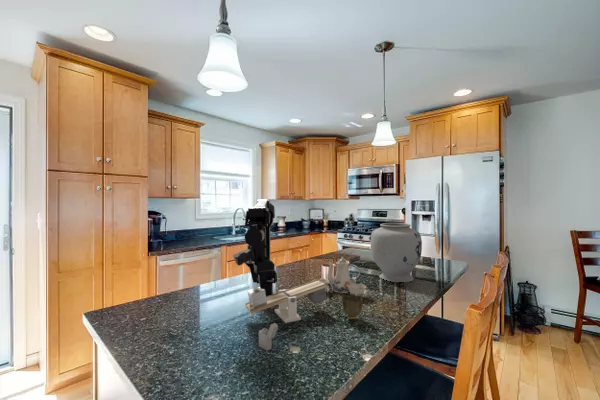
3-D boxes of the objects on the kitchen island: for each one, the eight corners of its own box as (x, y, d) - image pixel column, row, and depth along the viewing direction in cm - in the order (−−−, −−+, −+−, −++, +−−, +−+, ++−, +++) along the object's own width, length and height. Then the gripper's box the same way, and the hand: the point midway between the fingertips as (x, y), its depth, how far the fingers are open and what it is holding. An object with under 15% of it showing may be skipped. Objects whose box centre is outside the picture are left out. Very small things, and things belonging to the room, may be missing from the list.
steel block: (249, 304, 103) (247, 290, 103) (263, 299, 105) (260, 286, 105) (253, 308, 99) (251, 294, 98) (267, 303, 101) (264, 290, 101)
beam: (248, 320, 104) (245, 303, 104) (319, 294, 116) (317, 279, 116) (253, 328, 98) (250, 310, 97) (328, 299, 110) (326, 283, 110)
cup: (363, 324, 99) (362, 300, 99) (341, 322, 100) (341, 299, 100) (362, 315, 106) (362, 294, 106) (342, 314, 107) (342, 292, 108)
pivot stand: (274, 311, 111) (274, 290, 111) (288, 309, 113) (288, 288, 113) (285, 323, 100) (285, 299, 100) (301, 320, 103) (300, 296, 103)
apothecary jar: (431, 285, 143) (430, 225, 144) (377, 285, 144) (377, 225, 144) (411, 272, 170) (410, 221, 170) (366, 272, 171) (365, 222, 171)
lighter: (258, 345, 84) (258, 318, 85) (263, 343, 86) (263, 316, 86) (273, 354, 79) (273, 325, 80) (278, 352, 81) (278, 323, 81)
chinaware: (306, 297, 132) (304, 262, 130) (318, 284, 147) (316, 252, 146) (368, 305, 121) (367, 267, 120) (373, 290, 136) (373, 256, 135)
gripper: (229, 240, 107) (230, 282, 107) (241, 247, 90) (241, 296, 90) (258, 238, 112) (258, 278, 112) (274, 244, 95) (275, 291, 95)
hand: (258, 285), depth 102 cm, fingers open, 9 cm apart
